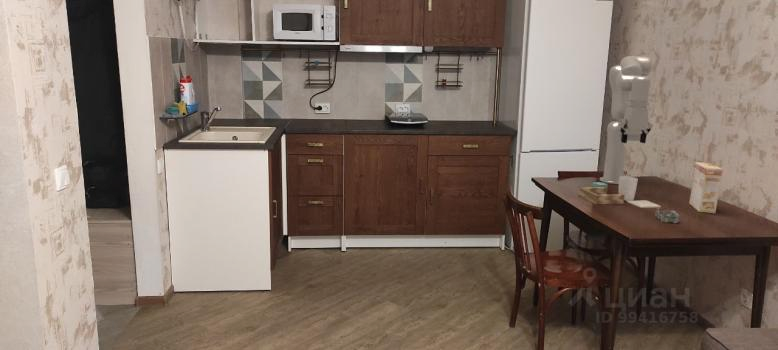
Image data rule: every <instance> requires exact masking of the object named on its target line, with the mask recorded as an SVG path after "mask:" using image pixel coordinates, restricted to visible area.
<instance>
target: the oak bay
mask: <svg viewBox="0 0 778 350" xmlns="http://www.w3.org/2000/svg"><path fill="white" fill-rule="evenodd" d="M606 193H607V194H606ZM578 197H580V198H581V197H582V199H584V200H585V201H588V202H590V203H592V204H594V205H618V204H619V205H622V204H623V205H624V201H625V200H624V195H623V194H619V193H618V194H616V193H615V194H608V188H606V187H592V186H590V187H579V188H578Z"/></svg>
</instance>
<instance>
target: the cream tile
mask: <svg viewBox="0 0 778 350" xmlns="http://www.w3.org/2000/svg"><path fill="white" fill-rule="evenodd" d="M626 203H628V204H630V205H633V206H635V207H637V208H640V209H654V208H655V209H657V208H659V209H661V207H662V206H661V205H659V204H658V203H654V202H651V201H649V200H646V199H645V200H643V199H642V200H633V201H626ZM656 207H657V208H656Z"/></svg>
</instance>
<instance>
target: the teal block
mask: <svg viewBox="0 0 778 350" xmlns="http://www.w3.org/2000/svg"><path fill="white" fill-rule="evenodd" d="M608 186H609V183H606V182H602V181H598V182H597V181H596V182H592V183H591V187H606V188H607V189H608ZM606 195H608V192H607V193H606Z"/></svg>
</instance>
